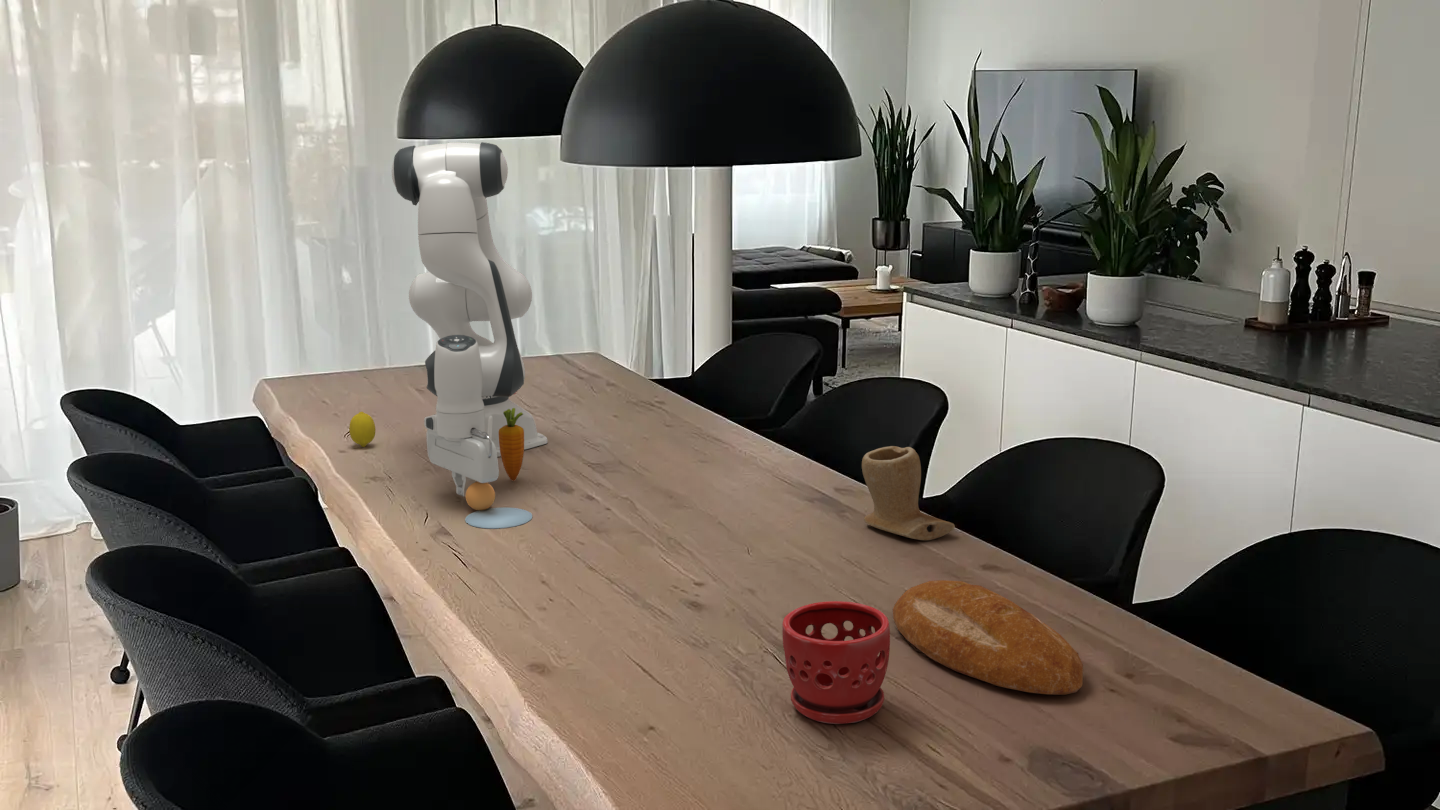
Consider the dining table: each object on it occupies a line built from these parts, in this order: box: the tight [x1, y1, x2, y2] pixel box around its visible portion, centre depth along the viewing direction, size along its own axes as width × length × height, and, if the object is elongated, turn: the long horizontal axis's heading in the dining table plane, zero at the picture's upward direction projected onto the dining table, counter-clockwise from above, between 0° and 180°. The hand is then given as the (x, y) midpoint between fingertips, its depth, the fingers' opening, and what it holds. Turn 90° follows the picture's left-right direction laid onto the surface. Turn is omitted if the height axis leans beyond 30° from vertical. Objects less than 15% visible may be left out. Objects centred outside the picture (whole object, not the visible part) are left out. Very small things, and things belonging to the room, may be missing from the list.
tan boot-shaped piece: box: [861, 445, 956, 541], centre depth 233 cm, size 15×12×15 cm
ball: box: [465, 481, 496, 511], centre depth 248 cm, size 5×5×5 cm
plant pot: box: [781, 600, 891, 725], centre depth 166 cm, size 13×13×12 cm
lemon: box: [348, 411, 376, 448], centre depth 293 cm, size 6×6×8 cm
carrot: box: [499, 408, 525, 482], centre depth 265 cm, size 5×5×15 cm
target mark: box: [464, 506, 533, 530], centre depth 244 cm, size 12×12×1 cm
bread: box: [892, 579, 1084, 696], centre depth 183 cm, size 18×35×9 cm, turn 27°
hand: (464, 495), depth 252 cm, fingers closed
